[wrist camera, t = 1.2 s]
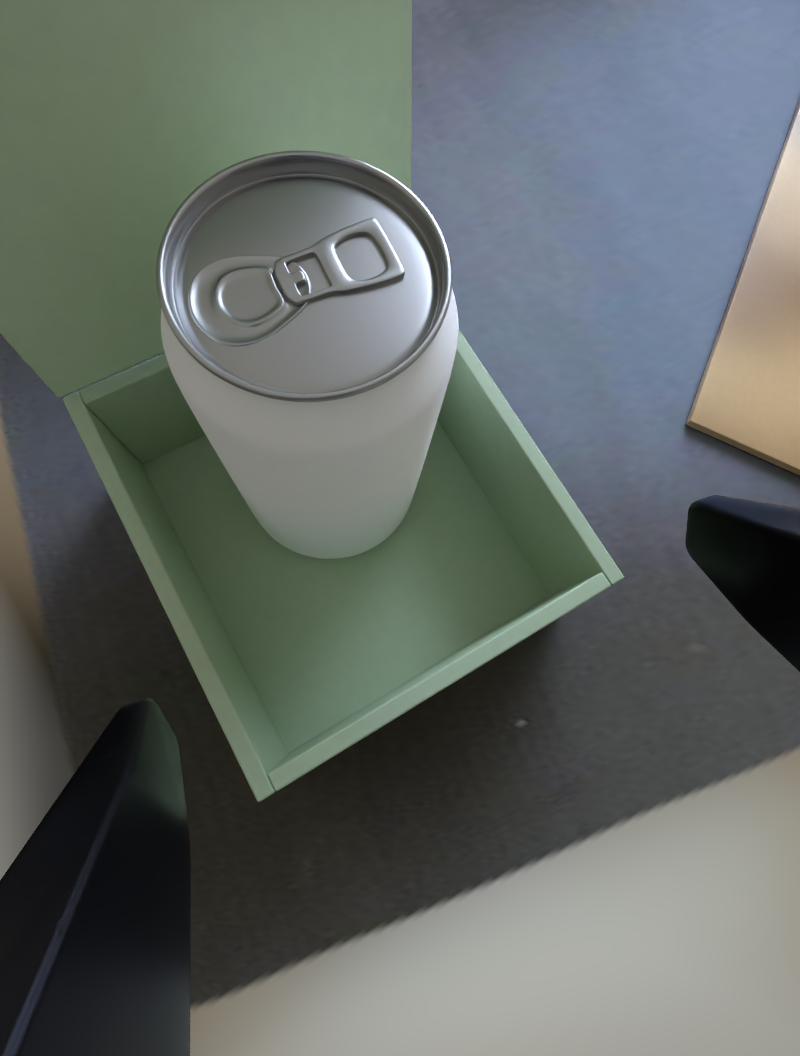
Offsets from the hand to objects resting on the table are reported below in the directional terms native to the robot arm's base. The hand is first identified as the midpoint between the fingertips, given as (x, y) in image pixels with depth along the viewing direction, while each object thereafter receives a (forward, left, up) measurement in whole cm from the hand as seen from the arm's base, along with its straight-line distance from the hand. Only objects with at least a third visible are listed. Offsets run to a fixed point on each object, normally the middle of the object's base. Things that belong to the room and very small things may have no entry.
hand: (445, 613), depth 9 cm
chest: (+5, -1, -13) cm, 14 cm away
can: (+7, -1, -13) cm, 14 cm away
